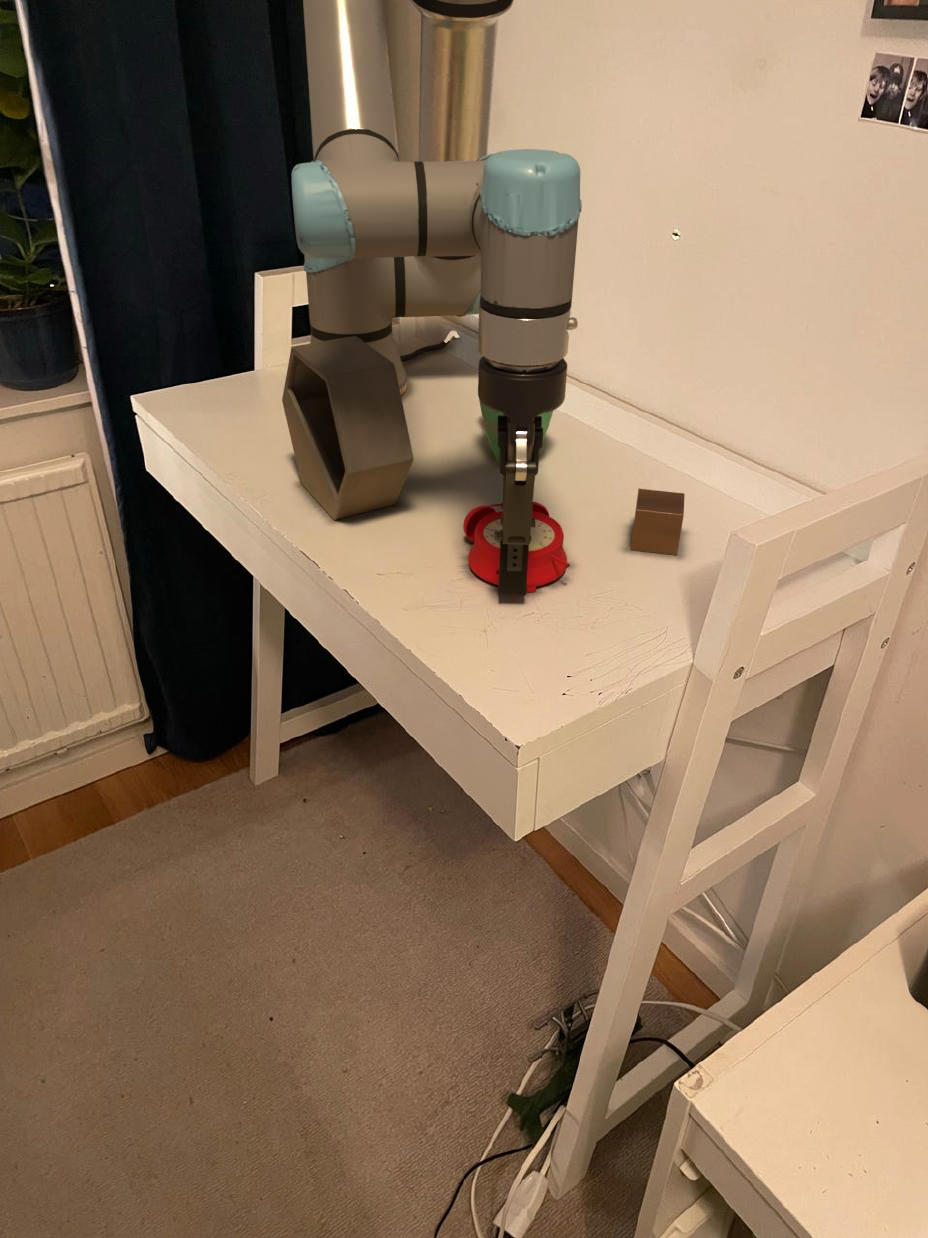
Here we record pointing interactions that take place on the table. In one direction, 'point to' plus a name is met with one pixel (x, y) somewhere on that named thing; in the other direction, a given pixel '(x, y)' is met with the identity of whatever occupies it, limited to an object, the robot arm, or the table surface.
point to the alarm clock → (543, 548)
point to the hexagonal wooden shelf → (347, 425)
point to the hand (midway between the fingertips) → (512, 590)
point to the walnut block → (658, 521)
